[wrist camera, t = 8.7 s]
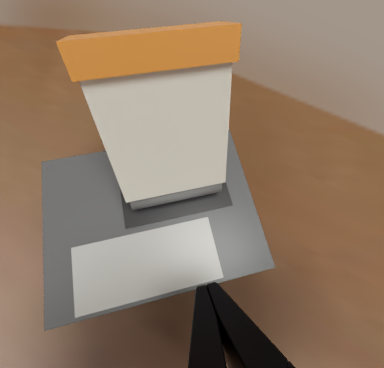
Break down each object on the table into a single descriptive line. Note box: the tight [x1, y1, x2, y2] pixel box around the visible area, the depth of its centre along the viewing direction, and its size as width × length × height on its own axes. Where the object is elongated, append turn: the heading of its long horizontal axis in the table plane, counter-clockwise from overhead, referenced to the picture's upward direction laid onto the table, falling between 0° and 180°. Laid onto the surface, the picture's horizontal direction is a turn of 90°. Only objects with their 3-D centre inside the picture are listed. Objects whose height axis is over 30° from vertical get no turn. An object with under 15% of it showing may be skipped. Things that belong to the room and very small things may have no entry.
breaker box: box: [42, 130, 275, 331], centre depth 18 cm, size 12×16×4 cm
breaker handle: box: [56, 21, 242, 210], centre depth 13 cm, size 2×7×10 cm, turn 103°
